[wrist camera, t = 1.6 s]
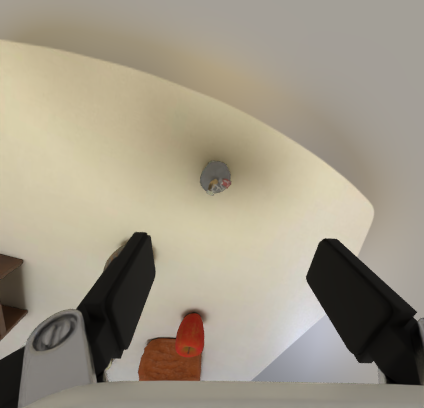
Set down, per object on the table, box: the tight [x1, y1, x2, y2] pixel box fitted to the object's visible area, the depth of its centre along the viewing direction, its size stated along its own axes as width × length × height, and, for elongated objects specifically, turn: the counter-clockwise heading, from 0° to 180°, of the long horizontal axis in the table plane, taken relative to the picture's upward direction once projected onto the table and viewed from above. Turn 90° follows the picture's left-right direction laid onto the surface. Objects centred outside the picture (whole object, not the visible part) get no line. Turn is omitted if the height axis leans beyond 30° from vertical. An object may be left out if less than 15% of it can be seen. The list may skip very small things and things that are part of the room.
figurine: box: [200, 161, 231, 196], centre depth 23 cm, size 5×4×6 cm
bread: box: [138, 338, 201, 381], centre depth 46 cm, size 16×27×11 cm, turn 176°
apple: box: [175, 313, 204, 357], centre depth 37 cm, size 6×6×8 cm
